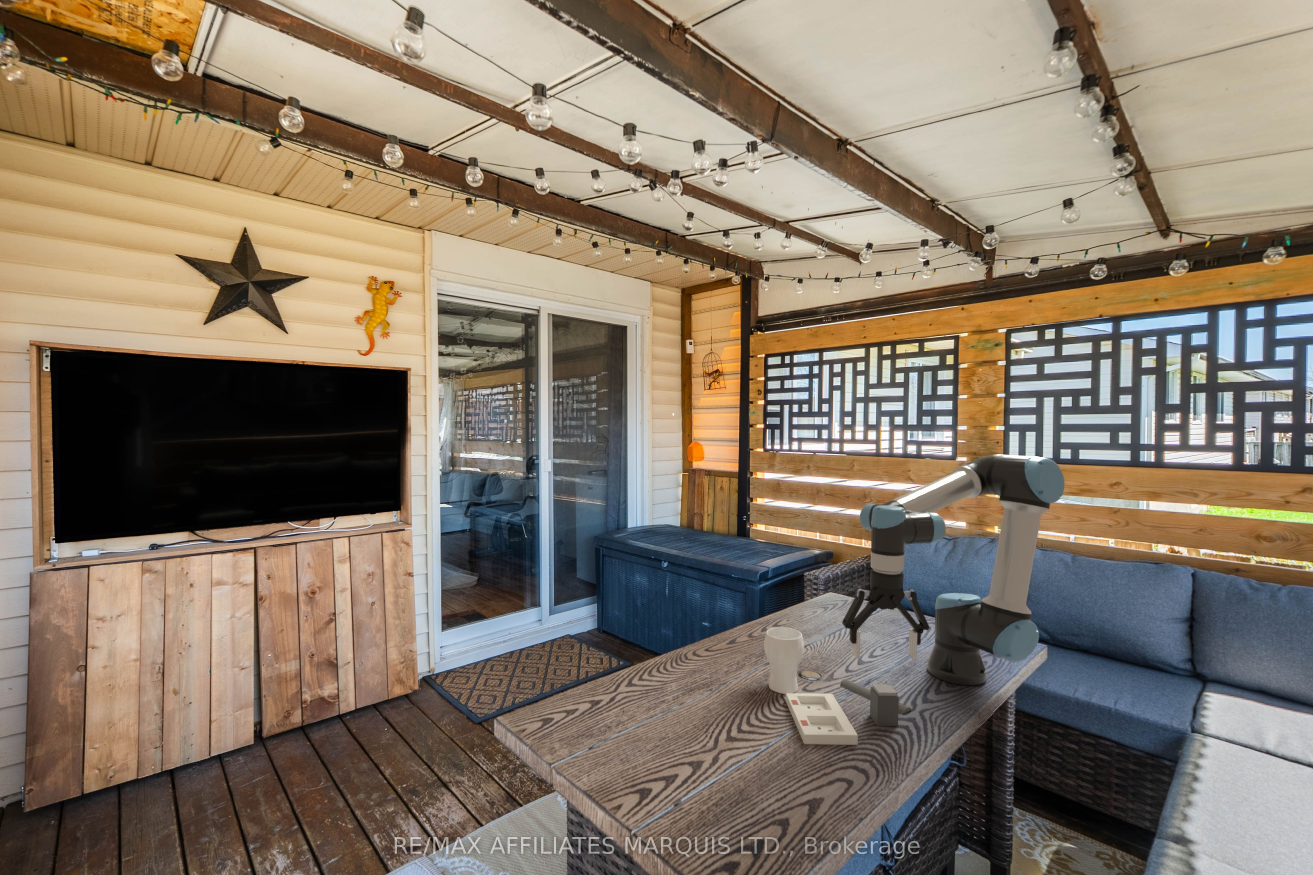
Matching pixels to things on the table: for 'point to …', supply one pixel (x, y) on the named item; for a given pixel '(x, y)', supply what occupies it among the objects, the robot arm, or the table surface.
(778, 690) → the cup
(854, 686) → the gray half cylinder
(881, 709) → the plug
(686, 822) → the table surface
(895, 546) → the robot arm
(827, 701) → the socket plate
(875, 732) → the table surface
